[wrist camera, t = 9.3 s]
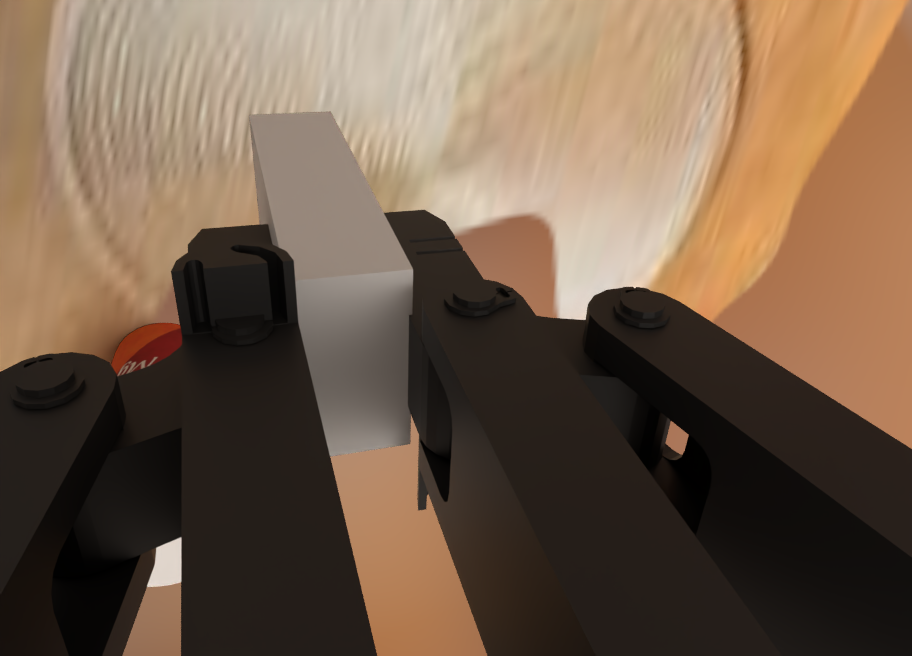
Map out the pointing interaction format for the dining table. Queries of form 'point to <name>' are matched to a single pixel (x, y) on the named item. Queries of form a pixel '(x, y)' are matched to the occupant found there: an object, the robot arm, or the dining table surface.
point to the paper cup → (132, 356)
